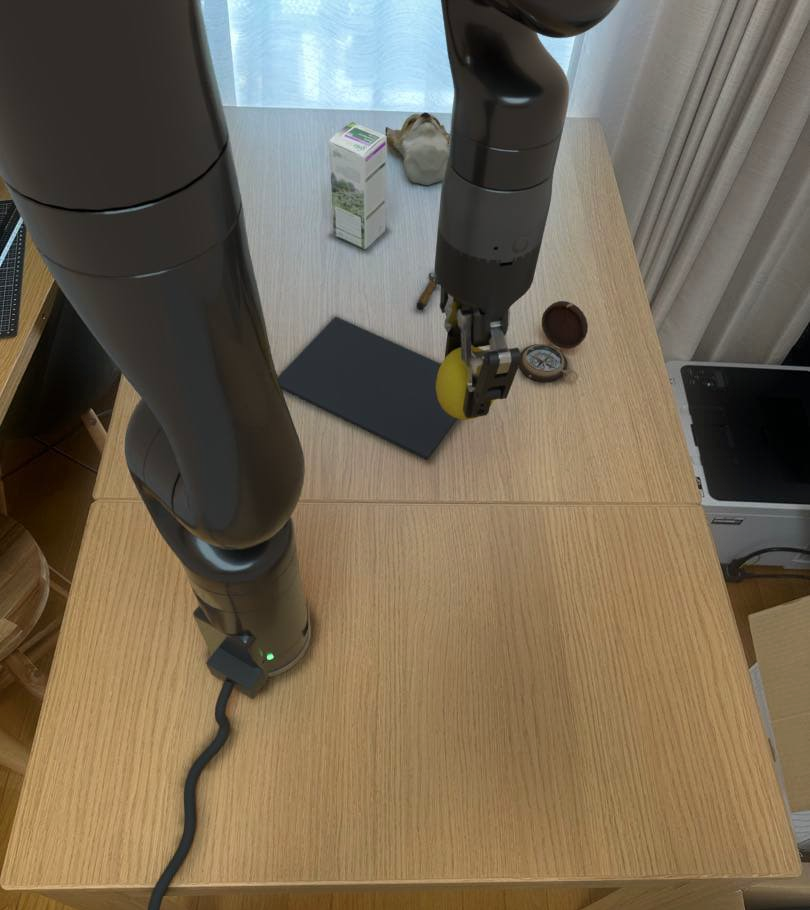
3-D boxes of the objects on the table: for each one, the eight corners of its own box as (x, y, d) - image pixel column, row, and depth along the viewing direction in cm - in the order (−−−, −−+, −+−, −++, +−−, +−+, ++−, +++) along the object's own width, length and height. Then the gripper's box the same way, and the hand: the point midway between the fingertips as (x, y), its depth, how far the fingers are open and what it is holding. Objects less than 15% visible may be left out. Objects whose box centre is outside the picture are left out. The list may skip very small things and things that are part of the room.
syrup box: (386, 231, 109) (389, 133, 97) (364, 252, 106) (363, 154, 94) (354, 216, 110) (353, 118, 98) (331, 237, 108) (326, 139, 95)
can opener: (422, 311, 100) (423, 304, 99) (407, 305, 100) (407, 298, 99) (451, 273, 104) (452, 266, 103) (436, 267, 105) (437, 260, 104)
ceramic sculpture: (397, 137, 106) (382, 89, 114) (395, 195, 113) (381, 146, 122) (470, 135, 107) (449, 87, 116) (463, 192, 114) (445, 143, 123)
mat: (427, 460, 87) (427, 457, 86) (273, 385, 92) (273, 381, 91) (482, 385, 93) (482, 382, 93) (335, 319, 99) (335, 316, 98)
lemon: (486, 442, 68) (499, 380, 61) (427, 430, 68) (433, 367, 62) (495, 398, 71) (509, 334, 64) (438, 387, 71) (446, 323, 64)
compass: (508, 368, 95) (518, 324, 89) (541, 335, 99) (552, 291, 92) (562, 398, 93) (576, 355, 87) (593, 363, 96) (608, 319, 90)
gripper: (415, 167, 55) (406, 339, 70) (469, 296, 48) (446, 457, 62) (510, 157, 56) (482, 328, 71) (577, 281, 49) (530, 443, 64)
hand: (465, 388), depth 67 cm, fingers closed on lemon, 5 cm apart
